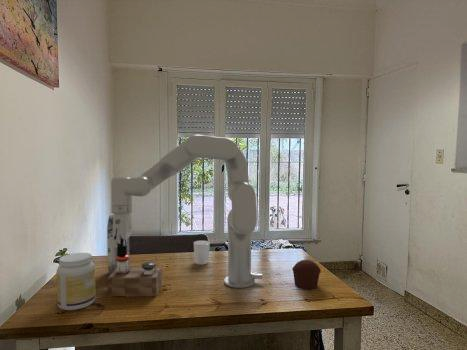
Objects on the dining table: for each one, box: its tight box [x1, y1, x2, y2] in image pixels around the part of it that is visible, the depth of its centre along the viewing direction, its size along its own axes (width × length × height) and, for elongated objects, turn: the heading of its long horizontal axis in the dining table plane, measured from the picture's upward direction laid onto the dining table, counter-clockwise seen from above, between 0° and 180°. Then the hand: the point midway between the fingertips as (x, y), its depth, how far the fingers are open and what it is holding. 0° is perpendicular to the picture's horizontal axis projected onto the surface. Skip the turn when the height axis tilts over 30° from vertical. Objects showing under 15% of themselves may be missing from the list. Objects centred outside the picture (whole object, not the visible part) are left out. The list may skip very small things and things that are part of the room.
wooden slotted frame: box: [106, 266, 163, 298], centre depth 127 cm, size 12×18×7 cm, turn 93°
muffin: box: [292, 259, 322, 291], centre depth 132 cm, size 12×11×10 cm
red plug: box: [116, 253, 131, 275], centre depth 126 cm, size 5×5×10 cm
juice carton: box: [106, 213, 130, 276], centre depth 144 cm, size 9×10×27 cm
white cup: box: [193, 240, 211, 266], centre depth 160 cm, size 8×8×10 cm
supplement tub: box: [56, 252, 96, 311], centre depth 115 cm, size 12×12×17 cm
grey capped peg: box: [141, 261, 157, 274], centre depth 127 cm, size 5×5×10 cm
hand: (122, 255), depth 126 cm, fingers closed
